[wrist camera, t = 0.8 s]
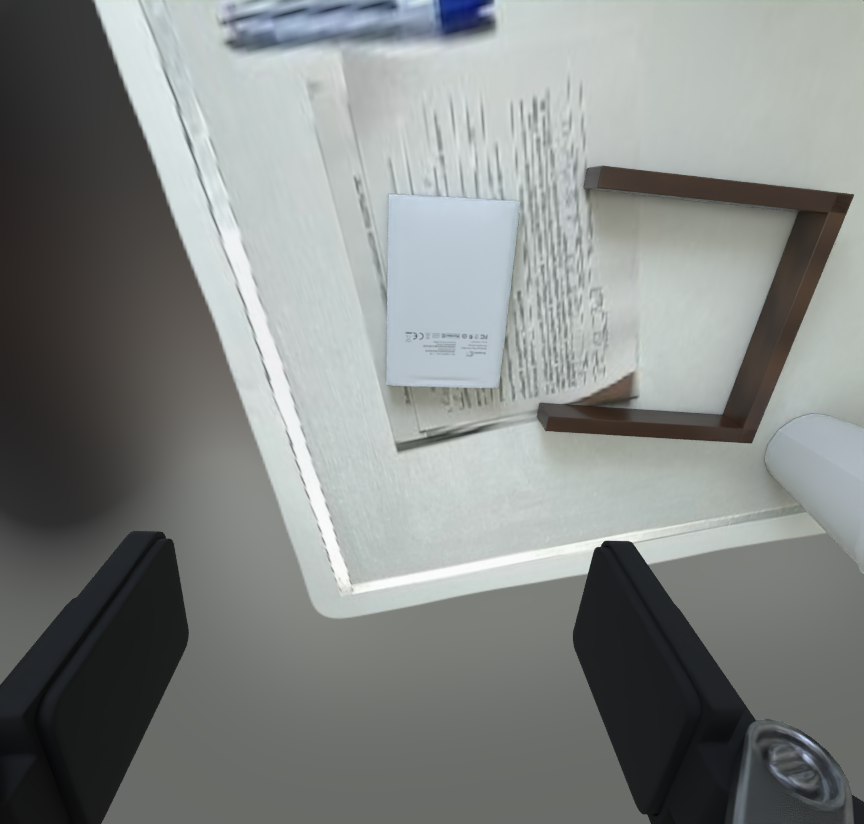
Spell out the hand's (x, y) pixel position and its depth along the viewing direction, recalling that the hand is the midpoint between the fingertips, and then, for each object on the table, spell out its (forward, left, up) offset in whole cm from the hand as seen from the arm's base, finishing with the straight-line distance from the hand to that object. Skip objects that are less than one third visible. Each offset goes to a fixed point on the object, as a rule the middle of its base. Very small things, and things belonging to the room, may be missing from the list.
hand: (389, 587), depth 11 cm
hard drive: (-2, +3, -25) cm, 26 cm away
